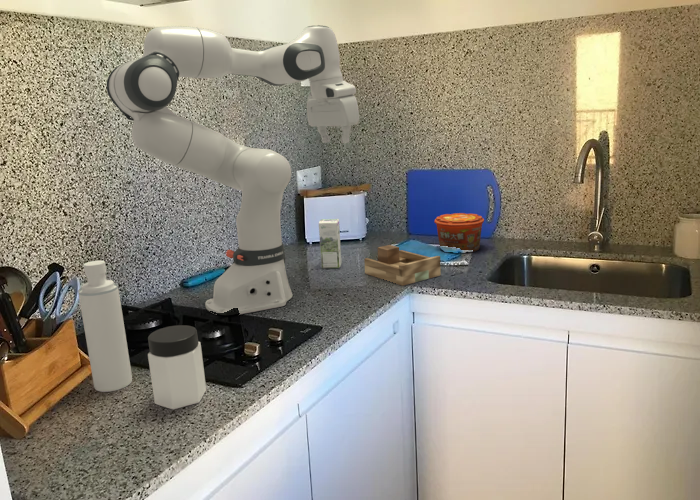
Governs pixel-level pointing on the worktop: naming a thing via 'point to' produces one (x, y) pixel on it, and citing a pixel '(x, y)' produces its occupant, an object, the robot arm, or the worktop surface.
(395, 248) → the block
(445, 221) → the food container
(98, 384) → the white bottle
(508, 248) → the worktop surface
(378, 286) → the worktop surface
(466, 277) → the worktop surface
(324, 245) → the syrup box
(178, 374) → the jar
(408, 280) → the tray
